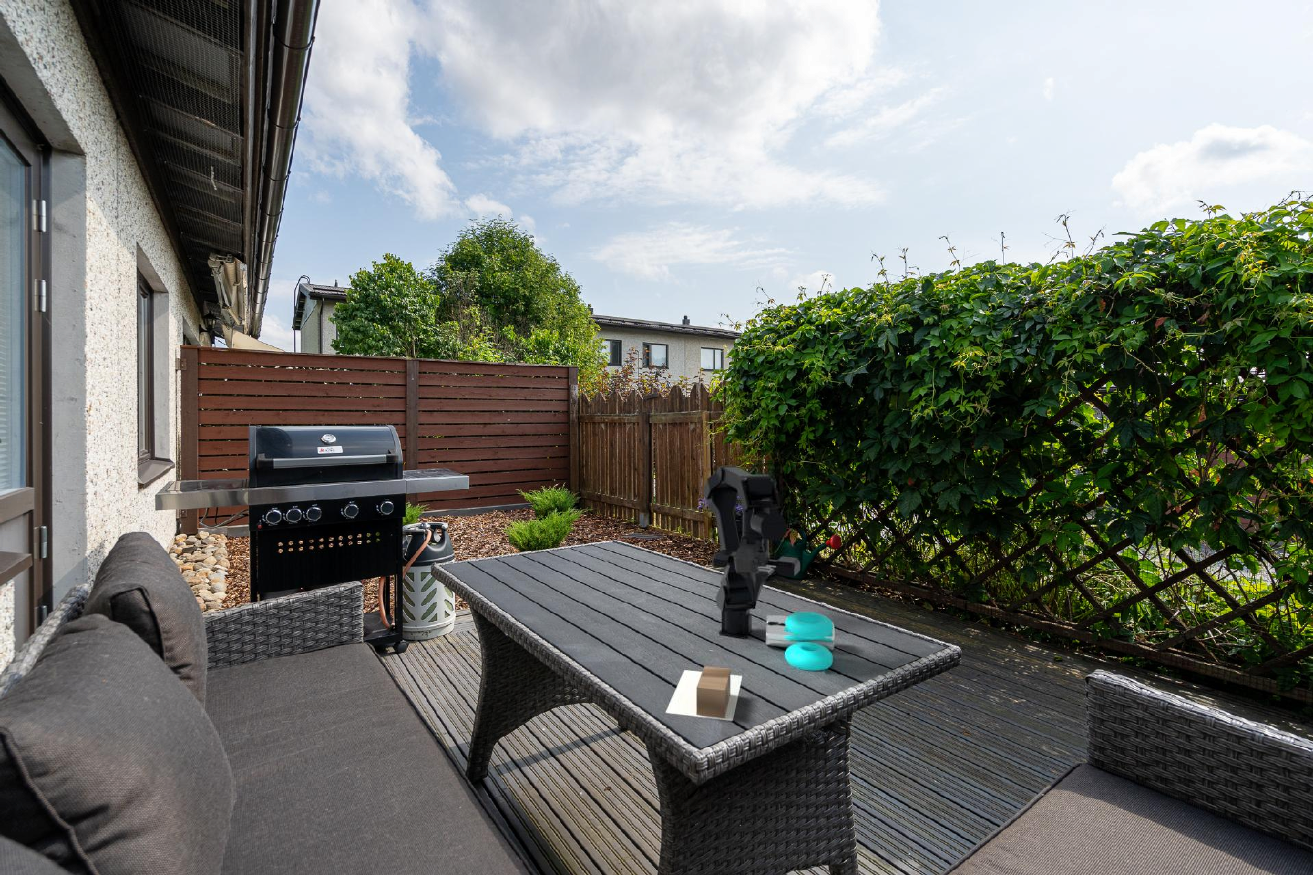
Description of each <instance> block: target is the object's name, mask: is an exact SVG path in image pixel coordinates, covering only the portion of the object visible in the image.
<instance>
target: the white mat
mask: <svg viewBox="0 0 1313 875" xmlns="http://www.w3.org/2000/svg"><path fill="white" fill-rule="evenodd" d="M701 674H702V671H697V670H686V669H684V671H683V673H682V674H681V676H680V679H679V682H678V684H677V686H676V688H675V689H674V691H673V692H674V693H673V695H672V697H671V699H670V702H669V705H668V706H667V708H666V710H665V714H670V715H671V714H672V715H679V716H688V717H695V718H705V719H713V720H721V721H730V722H733V721H734V716H735V713H736V712H735V711H736V706H737V703H738V702H737V701H738V699H739V694H740V688H741V684H742V680H743V675H736V674H731V676H730V698H729V702H728V706H727V710H726V714H725V718H719V717H710V716H702V715H696V691H697V685H698V682H699V679H700V677H701Z"/></svg>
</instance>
